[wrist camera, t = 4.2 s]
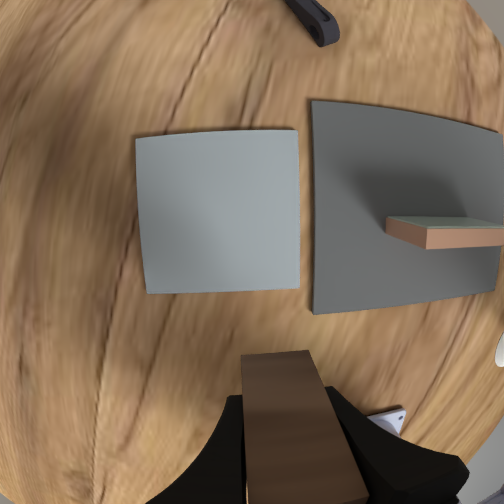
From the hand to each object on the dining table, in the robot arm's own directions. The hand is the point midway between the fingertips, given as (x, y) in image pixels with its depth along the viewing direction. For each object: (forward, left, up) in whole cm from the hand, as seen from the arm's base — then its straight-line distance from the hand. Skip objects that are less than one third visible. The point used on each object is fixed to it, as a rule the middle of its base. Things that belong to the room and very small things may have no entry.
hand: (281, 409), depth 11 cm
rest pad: (+7, +3, -9) cm, 12 cm away
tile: (+6, -12, -9) cm, 17 cm away
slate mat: (+7, -12, -9) cm, 17 cm away
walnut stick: (0, 0, -2) cm, 2 cm away
